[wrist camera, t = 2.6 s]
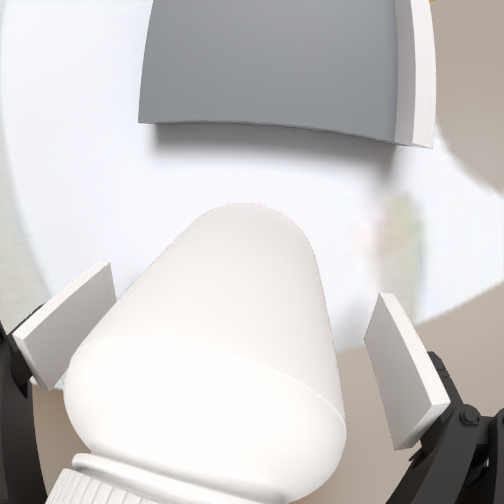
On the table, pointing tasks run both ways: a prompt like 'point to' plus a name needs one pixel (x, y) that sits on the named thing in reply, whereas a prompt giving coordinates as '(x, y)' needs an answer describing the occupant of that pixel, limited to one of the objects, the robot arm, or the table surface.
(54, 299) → the robot arm
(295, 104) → the shelf
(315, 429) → the pill bottle
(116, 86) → the table surface
